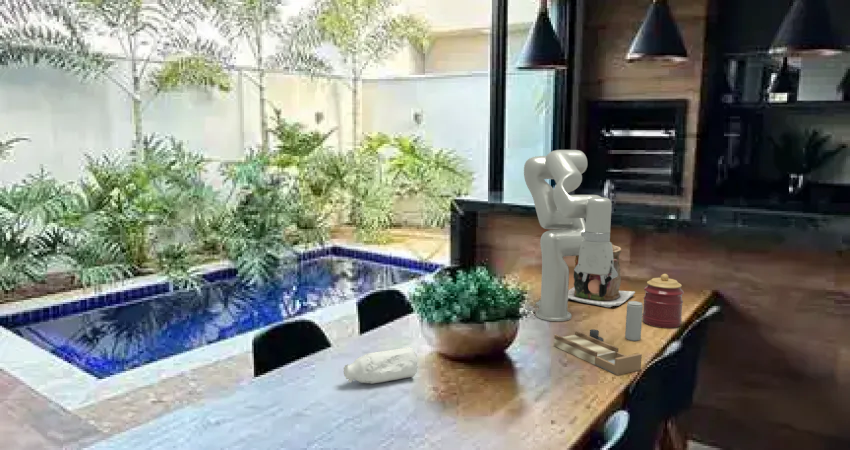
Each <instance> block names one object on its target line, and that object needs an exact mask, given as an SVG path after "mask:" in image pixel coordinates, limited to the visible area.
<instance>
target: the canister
mask: <svg viewBox="0 0 850 450" xmlns="http://www.w3.org/2000/svg"><path fill="white" fill-rule="evenodd" d="M646 283H647V286H645V287H644V289H643V290H644V291H645V294H644V296H643V310H642V323H644V324H646V325H648V326H652V327H656V328H666V329H672V328H673V329H674V328H678V327H680V326H681V324H682V321H683V320H682V313H683V303H684V300H683V296H682V295H684V293H685V292H684V290H683V289H681V288H682V284H681V283H680V282H678V280H677V279H674V278H669V275H668V274H667V273H663V274H661V275H660V277H653V278H651V279H650V280H647V282H646Z"/></svg>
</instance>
